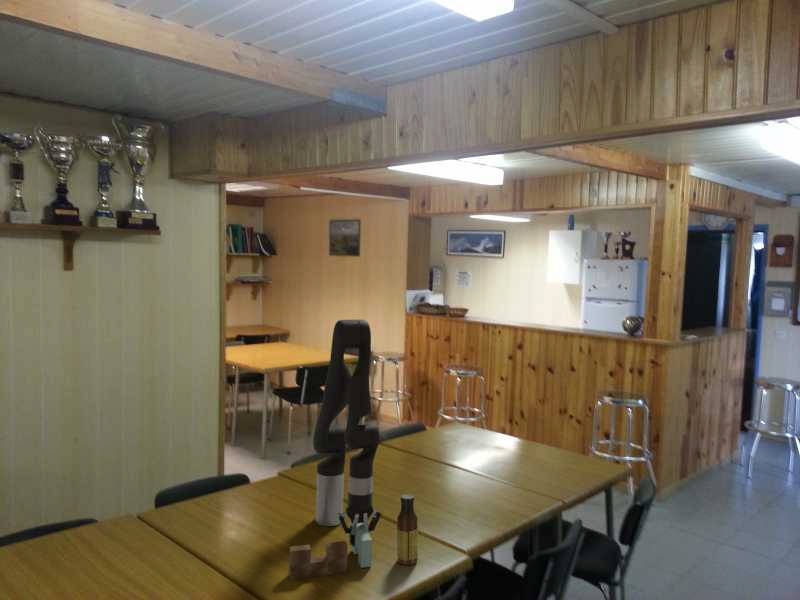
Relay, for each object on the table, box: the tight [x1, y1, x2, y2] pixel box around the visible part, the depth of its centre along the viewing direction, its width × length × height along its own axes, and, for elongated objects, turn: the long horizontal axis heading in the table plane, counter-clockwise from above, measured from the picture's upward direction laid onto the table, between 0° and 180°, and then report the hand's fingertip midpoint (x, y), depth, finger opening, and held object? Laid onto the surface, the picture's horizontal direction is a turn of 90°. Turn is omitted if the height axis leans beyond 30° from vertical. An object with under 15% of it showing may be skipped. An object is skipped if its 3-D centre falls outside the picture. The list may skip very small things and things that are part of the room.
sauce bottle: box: [396, 493, 419, 566], centre depth 181 cm, size 7×6×20 cm
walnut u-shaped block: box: [288, 540, 348, 580], centre depth 172 cm, size 16×3×8 cm, turn 108°
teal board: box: [351, 523, 373, 569], centre depth 182 cm, size 12×3×8 cm, turn 18°
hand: (358, 544), depth 186 cm, fingers closed on teal board, 3 cm apart
